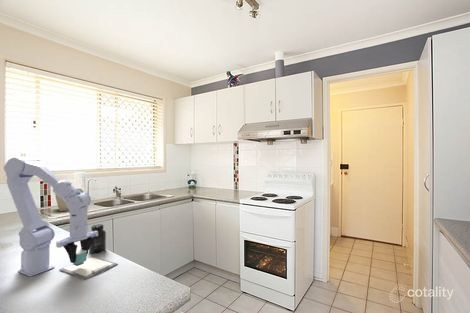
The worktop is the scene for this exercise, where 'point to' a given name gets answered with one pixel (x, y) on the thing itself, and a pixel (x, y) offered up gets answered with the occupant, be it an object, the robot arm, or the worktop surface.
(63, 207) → the flower pot
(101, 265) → the clipboard
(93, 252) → the supplement bottle
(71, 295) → the worktop surface
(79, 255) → the teal-topped white block
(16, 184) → the robot arm
